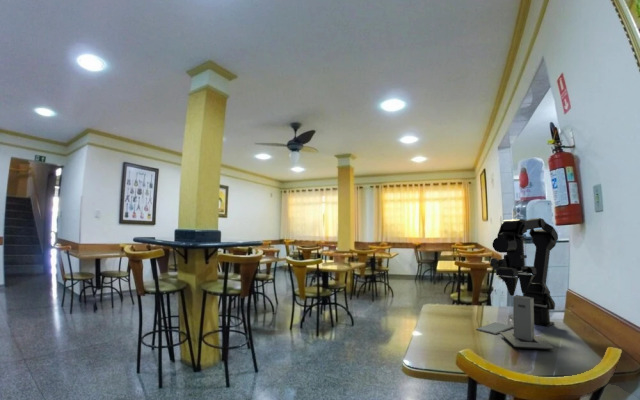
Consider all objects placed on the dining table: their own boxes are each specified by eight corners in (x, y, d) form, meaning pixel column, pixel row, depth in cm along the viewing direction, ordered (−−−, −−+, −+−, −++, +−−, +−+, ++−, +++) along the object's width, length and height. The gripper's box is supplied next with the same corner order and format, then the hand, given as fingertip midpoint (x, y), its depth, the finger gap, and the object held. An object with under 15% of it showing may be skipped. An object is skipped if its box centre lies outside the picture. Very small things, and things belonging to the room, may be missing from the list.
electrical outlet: (554, 354, 93) (553, 346, 93) (515, 352, 95) (514, 344, 95) (533, 340, 106) (533, 332, 106) (500, 338, 108) (499, 331, 108)
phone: (495, 324, 123) (495, 322, 123) (514, 329, 117) (514, 326, 118) (476, 331, 115) (476, 328, 115) (495, 336, 109) (495, 333, 110)
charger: (517, 334, 104) (516, 294, 105) (534, 338, 100) (533, 297, 101) (513, 337, 101) (513, 296, 102) (531, 341, 97) (530, 299, 98)
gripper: (505, 250, 129) (507, 289, 127) (480, 251, 119) (483, 293, 117) (535, 252, 120) (538, 293, 118) (511, 253, 110) (514, 298, 108)
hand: (517, 294), depth 116 cm, fingers open, 9 cm apart
